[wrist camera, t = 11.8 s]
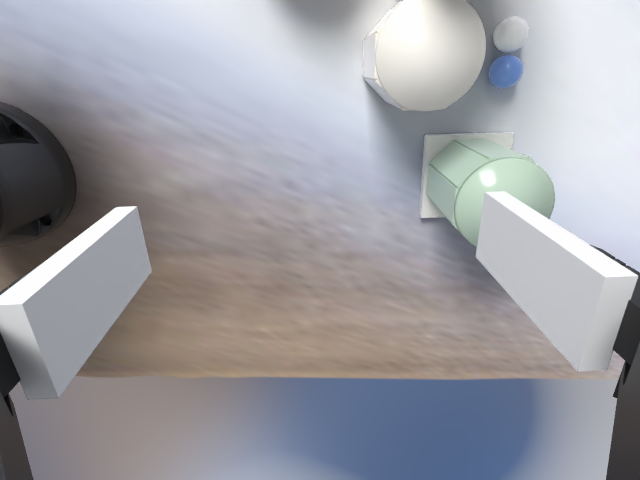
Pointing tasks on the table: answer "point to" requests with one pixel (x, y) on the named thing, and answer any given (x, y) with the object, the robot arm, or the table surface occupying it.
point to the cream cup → (425, 53)
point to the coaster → (435, 146)
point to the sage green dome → (484, 182)
